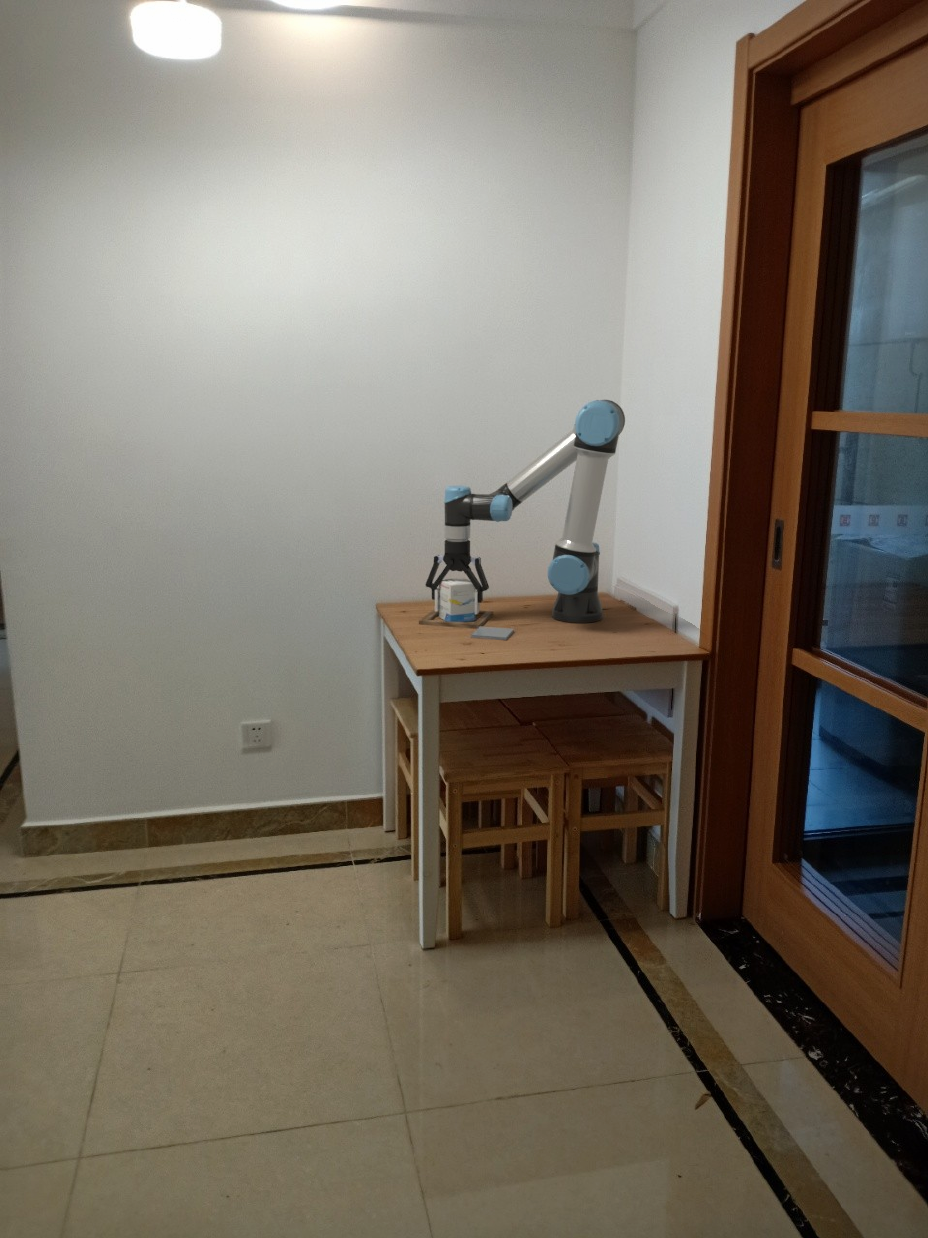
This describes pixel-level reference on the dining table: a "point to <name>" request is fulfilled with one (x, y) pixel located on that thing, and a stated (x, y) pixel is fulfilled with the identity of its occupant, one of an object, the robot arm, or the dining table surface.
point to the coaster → (492, 633)
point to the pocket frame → (428, 621)
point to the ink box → (457, 600)
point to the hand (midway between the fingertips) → (457, 612)
